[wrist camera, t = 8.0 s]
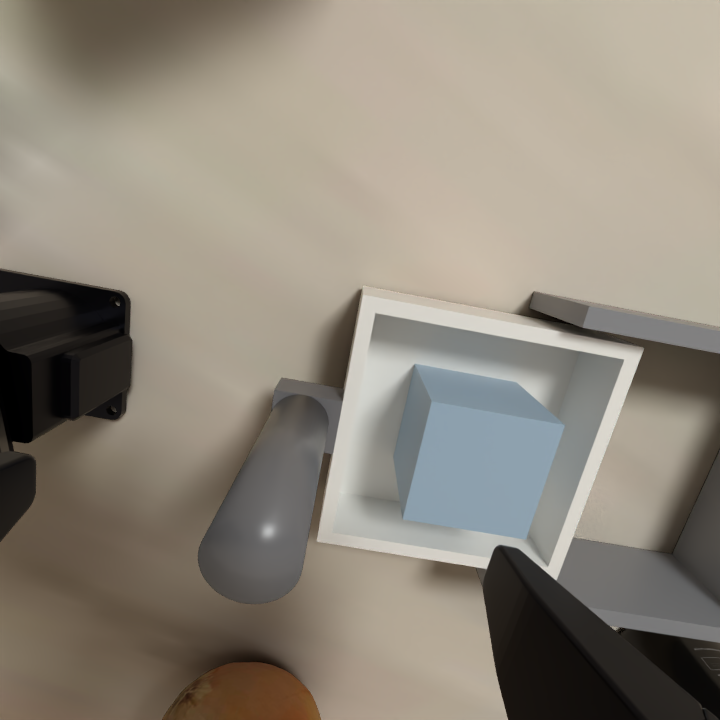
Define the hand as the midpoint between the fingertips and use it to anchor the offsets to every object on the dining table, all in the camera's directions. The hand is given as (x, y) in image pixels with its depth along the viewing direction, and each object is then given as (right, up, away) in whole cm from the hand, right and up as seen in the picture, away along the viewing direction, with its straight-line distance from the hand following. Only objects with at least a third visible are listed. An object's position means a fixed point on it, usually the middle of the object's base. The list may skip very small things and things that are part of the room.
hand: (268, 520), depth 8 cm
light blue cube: (+6, 0, +13) cm, 14 cm away
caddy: (+5, +1, +13) cm, 14 cm away
